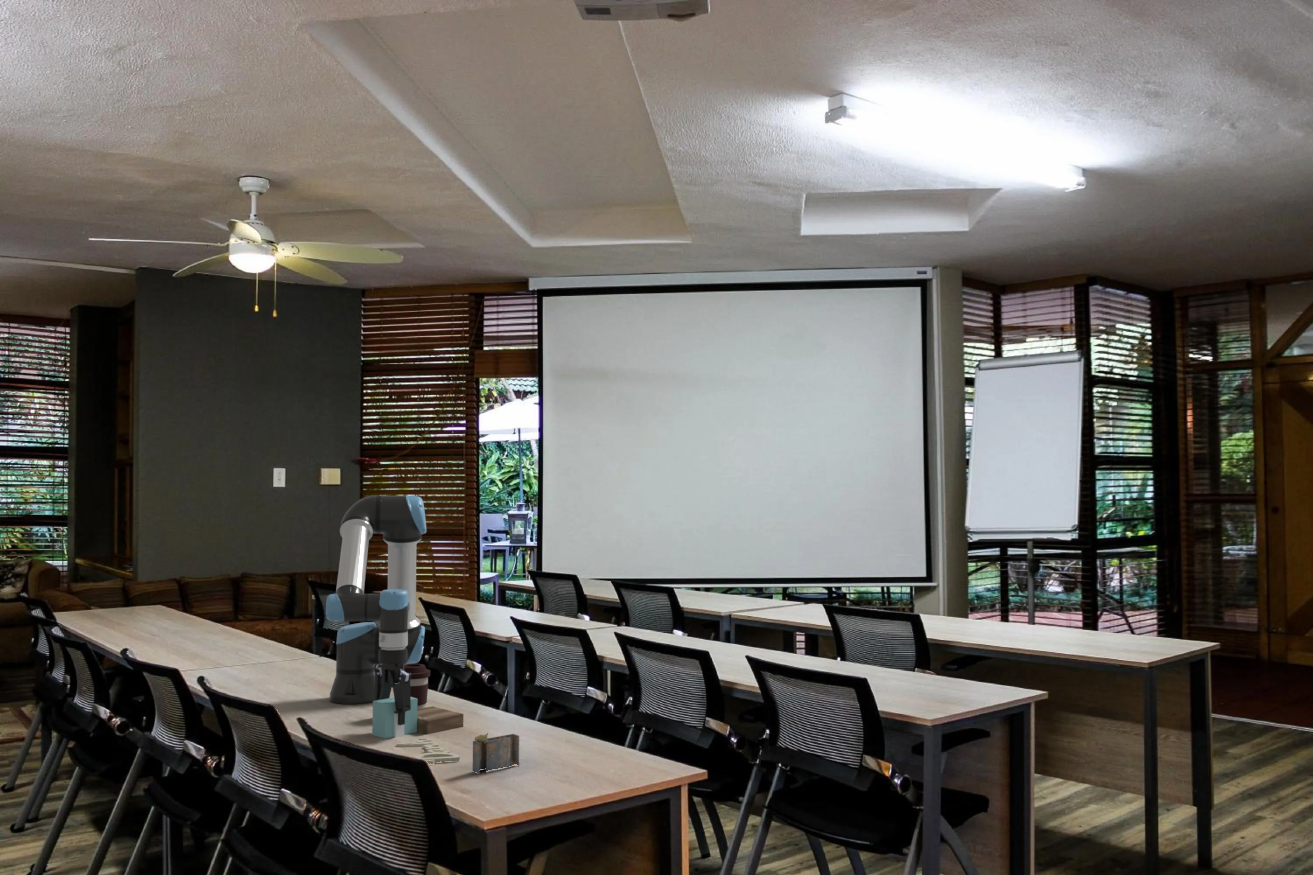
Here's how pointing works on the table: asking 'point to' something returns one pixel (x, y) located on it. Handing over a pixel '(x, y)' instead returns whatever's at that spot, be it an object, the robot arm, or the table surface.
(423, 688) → the coffee cup
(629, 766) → the table surface
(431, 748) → the decorative sign
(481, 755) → the rusty metal bracket
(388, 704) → the light teal block
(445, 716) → the brown block
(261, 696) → the table surface
